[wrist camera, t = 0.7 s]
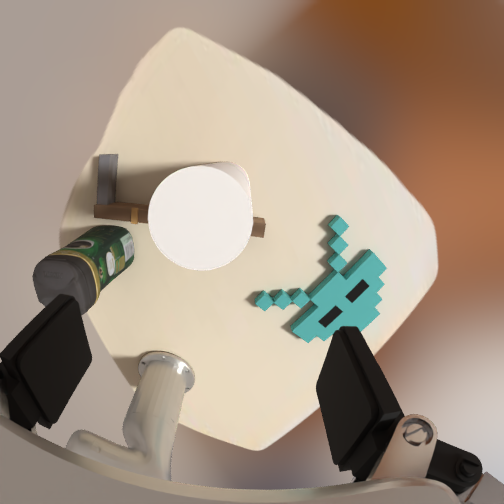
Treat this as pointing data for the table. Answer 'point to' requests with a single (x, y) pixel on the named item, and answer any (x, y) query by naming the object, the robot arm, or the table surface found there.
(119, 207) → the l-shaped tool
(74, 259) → the coffee jar
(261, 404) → the table surface
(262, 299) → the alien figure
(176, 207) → the cylindrical container
